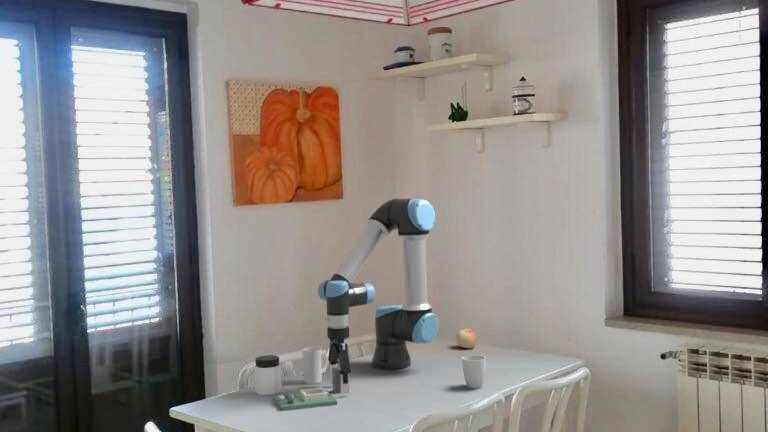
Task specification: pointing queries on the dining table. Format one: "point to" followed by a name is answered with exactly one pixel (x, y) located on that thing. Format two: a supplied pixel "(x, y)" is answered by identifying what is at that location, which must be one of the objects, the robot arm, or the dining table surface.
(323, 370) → the mug
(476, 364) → the cup
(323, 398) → the board
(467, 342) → the apple
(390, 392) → the dining table surface
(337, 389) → the plug
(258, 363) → the jar
